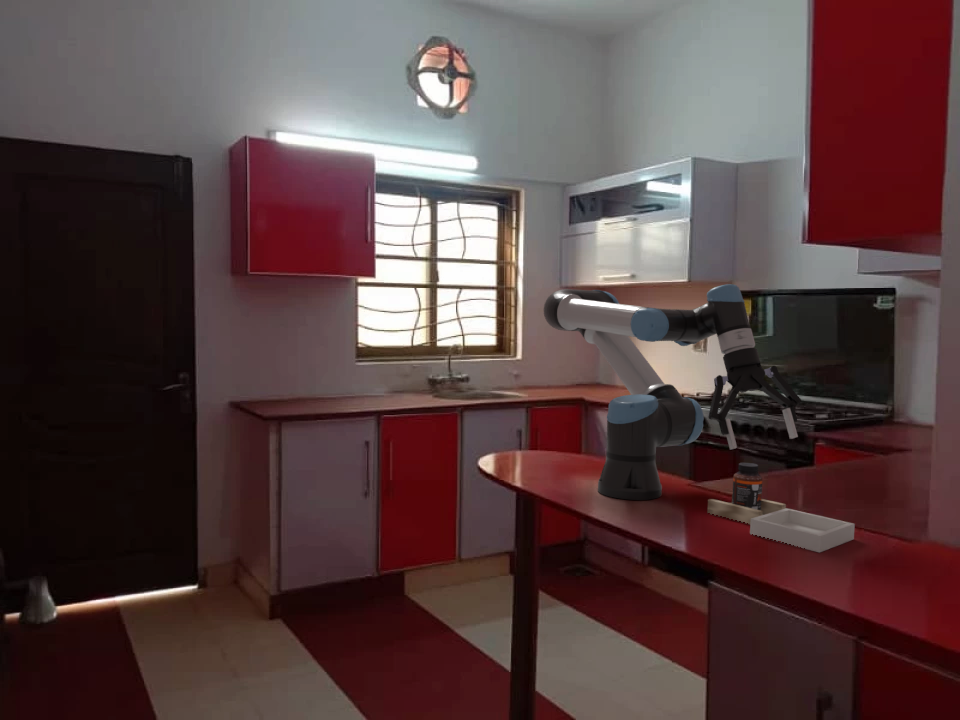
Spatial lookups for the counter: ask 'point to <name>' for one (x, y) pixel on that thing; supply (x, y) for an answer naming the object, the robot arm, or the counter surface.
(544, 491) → the counter surface
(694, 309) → the robot arm
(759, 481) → the supplement bottle
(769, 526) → the tray
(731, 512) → the cradle
